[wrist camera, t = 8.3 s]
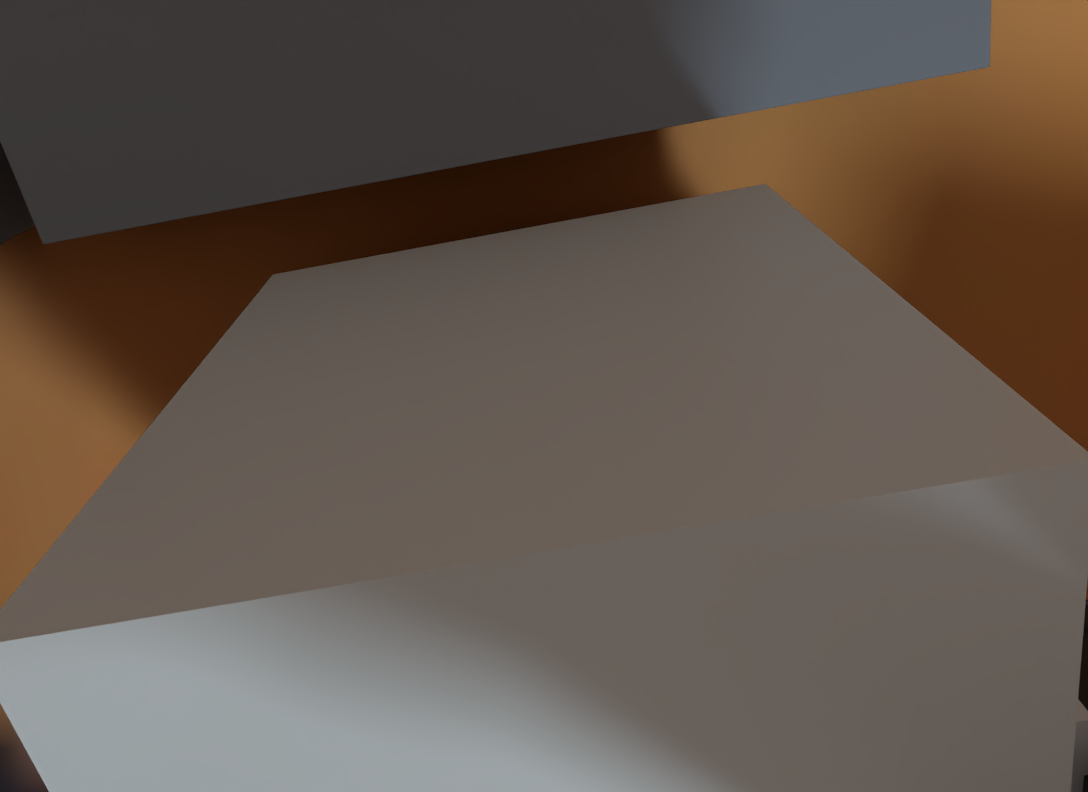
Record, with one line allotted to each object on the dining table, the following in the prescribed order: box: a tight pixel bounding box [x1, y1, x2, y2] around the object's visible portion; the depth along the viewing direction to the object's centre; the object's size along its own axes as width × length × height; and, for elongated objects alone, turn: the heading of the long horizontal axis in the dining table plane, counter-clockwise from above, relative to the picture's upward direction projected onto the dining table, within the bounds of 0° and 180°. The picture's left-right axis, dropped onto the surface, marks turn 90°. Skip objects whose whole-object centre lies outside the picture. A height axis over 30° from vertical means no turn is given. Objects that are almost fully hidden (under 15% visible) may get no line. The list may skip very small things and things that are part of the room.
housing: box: [0, 184, 1088, 792], centre depth 11 cm, size 9×7×8 cm
